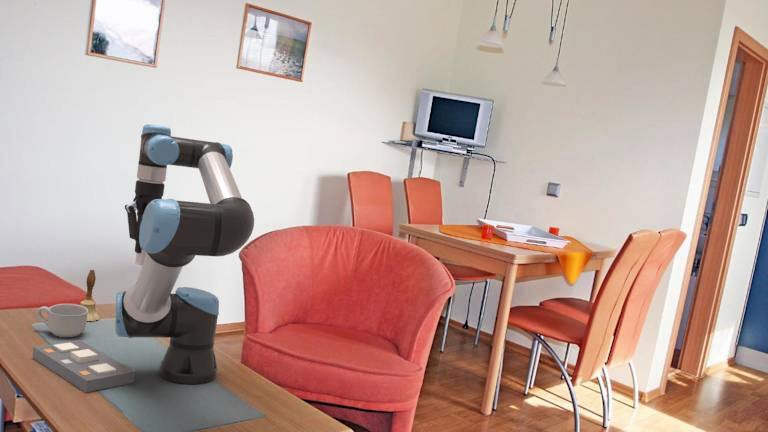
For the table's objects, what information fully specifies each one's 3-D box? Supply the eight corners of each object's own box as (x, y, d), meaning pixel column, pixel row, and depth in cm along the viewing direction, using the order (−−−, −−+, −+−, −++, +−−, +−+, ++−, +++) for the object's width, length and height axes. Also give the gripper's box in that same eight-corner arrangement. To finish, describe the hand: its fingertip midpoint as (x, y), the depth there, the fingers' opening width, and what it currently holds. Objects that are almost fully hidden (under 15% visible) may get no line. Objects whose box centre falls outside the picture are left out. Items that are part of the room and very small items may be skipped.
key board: (134, 382, 174) (135, 371, 173) (85, 392, 163) (87, 380, 163) (79, 350, 190) (80, 339, 189) (32, 357, 179) (33, 346, 179)
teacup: (92, 333, 206) (95, 307, 205) (72, 342, 195) (75, 316, 194) (49, 325, 207) (51, 299, 206) (27, 334, 196) (30, 307, 195)
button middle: (96, 362, 177) (97, 354, 176) (79, 365, 173) (80, 357, 173) (87, 356, 179) (88, 348, 179) (69, 359, 176) (70, 351, 175)
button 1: (78, 355, 182) (79, 347, 182) (61, 358, 178) (62, 350, 178) (69, 350, 185) (70, 342, 185) (52, 352, 181) (53, 344, 181)
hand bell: (79, 313, 223) (85, 265, 221) (104, 317, 223) (110, 270, 221) (67, 319, 214) (72, 270, 213) (92, 323, 214) (98, 274, 213)
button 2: (115, 377, 171) (116, 369, 171) (97, 380, 168) (98, 372, 167) (105, 371, 174) (106, 363, 174) (87, 374, 170) (88, 366, 170)
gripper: (162, 180, 195) (152, 260, 197) (121, 177, 184) (111, 262, 187) (178, 184, 190) (168, 266, 193) (137, 182, 180) (127, 268, 182)
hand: (140, 264), depth 190 cm, fingers closed
